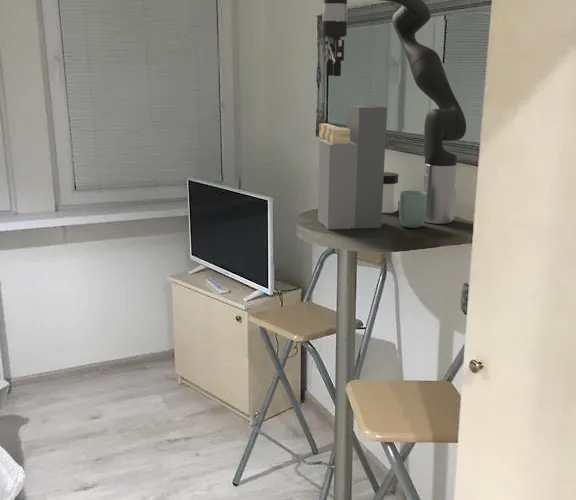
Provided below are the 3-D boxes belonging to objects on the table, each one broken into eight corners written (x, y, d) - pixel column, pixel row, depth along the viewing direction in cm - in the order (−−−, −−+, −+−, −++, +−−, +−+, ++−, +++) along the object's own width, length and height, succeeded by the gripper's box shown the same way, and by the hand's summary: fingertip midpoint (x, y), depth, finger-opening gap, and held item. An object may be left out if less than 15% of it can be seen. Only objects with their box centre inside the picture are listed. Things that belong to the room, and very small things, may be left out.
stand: (317, 220, 197) (320, 105, 188) (368, 218, 200) (373, 105, 191) (327, 229, 185) (330, 107, 176) (381, 227, 188) (387, 107, 179)
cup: (425, 230, 186) (427, 195, 183) (397, 228, 187) (399, 194, 184) (425, 224, 193) (427, 191, 190) (398, 222, 194) (400, 189, 192)
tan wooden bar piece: (314, 136, 200) (315, 123, 199) (330, 136, 201) (331, 123, 200) (332, 144, 180) (332, 129, 179) (349, 143, 181) (350, 129, 180)
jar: (377, 206, 217) (379, 171, 214) (400, 209, 213) (402, 173, 210) (366, 211, 210) (368, 174, 207) (390, 214, 206) (392, 176, 203)
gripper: (317, 21, 202) (315, 75, 207) (328, 18, 189) (327, 76, 193) (340, 22, 204) (338, 75, 208) (353, 18, 190) (351, 76, 195)
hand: (333, 75), depth 201 cm, fingers open, 8 cm apart
